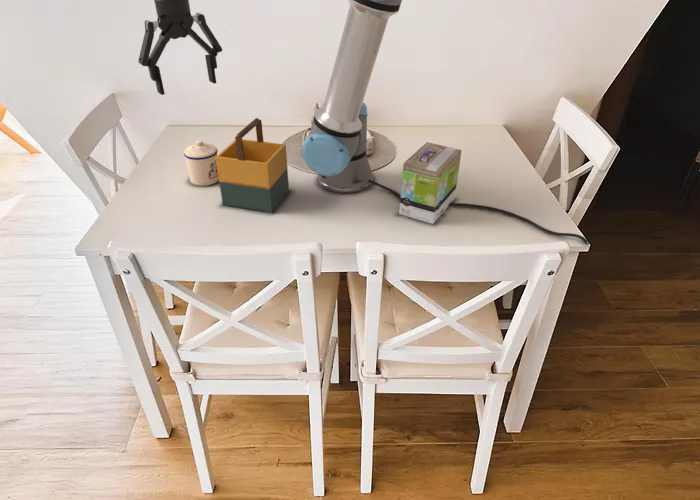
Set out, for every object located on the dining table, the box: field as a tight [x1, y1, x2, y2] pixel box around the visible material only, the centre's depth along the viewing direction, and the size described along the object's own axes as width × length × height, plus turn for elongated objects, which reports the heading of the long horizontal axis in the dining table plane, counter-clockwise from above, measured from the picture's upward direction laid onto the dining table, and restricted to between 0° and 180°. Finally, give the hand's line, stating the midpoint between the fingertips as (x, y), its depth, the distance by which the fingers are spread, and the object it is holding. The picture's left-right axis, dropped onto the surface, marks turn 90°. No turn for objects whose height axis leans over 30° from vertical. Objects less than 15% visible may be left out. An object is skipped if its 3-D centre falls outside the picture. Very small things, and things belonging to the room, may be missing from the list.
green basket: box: [218, 169, 290, 214], centre depth 143 cm, size 14×12×7 cm
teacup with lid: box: [183, 139, 219, 187], centre depth 152 cm, size 12×9×12 cm
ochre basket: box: [215, 117, 288, 189], centre depth 137 cm, size 14×12×14 cm
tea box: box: [398, 141, 462, 225], centre depth 137 cm, size 15×10×15 cm
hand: (187, 87), depth 134 cm, fingers open, 13 cm apart
